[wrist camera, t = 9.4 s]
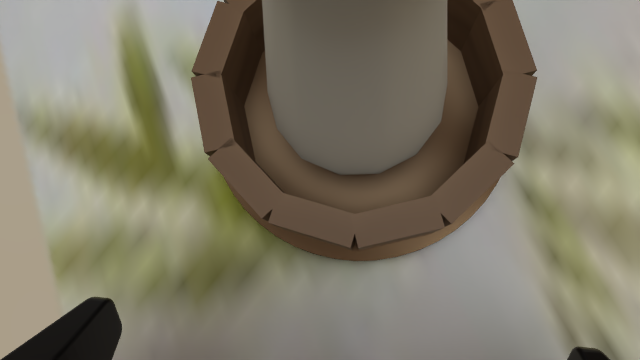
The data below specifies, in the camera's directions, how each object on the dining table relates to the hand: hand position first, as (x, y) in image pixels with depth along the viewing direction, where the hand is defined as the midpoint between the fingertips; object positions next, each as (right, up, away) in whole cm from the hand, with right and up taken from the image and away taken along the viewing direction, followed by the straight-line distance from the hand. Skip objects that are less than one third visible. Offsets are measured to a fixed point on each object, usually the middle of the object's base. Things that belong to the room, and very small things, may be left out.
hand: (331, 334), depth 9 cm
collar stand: (+1, +6, +10) cm, 11 cm away
